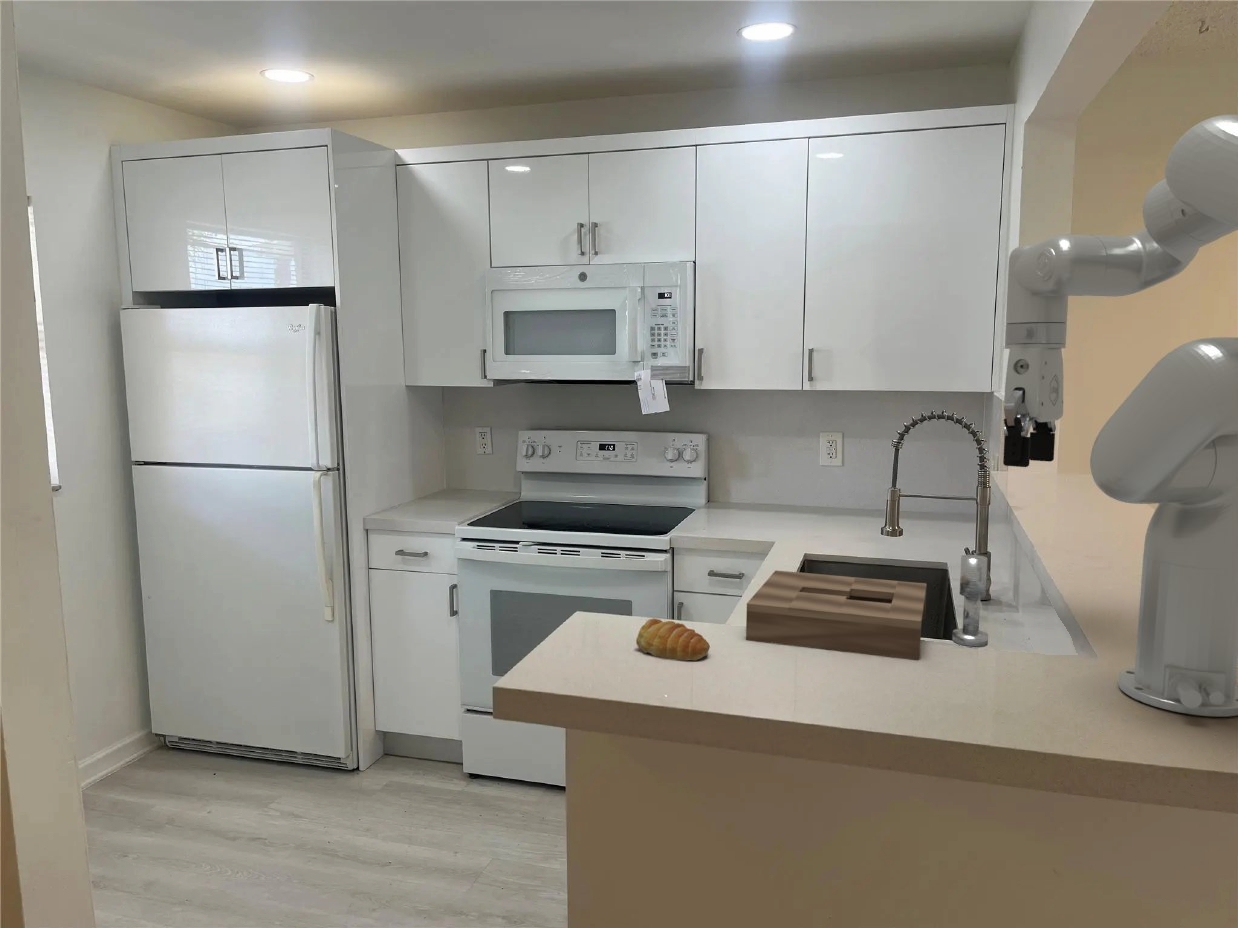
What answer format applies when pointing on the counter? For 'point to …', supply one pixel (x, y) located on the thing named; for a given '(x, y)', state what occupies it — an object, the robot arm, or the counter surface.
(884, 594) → the keyhole plate
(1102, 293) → the robot arm
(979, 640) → the keyhole bolt
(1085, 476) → the counter surface
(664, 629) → the pastry
